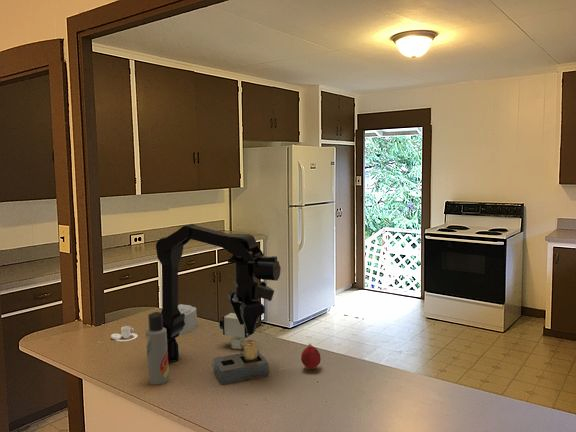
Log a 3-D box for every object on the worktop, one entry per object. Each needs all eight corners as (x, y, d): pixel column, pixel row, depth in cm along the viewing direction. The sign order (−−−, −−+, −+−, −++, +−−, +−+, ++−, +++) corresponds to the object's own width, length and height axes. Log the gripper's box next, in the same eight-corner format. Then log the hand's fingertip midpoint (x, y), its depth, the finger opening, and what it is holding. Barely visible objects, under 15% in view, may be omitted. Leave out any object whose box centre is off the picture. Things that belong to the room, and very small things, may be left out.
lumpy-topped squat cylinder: (200, 325, 188) (199, 303, 187) (180, 337, 176) (179, 314, 175) (178, 322, 192) (176, 301, 191) (157, 334, 180) (155, 311, 179)
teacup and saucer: (108, 341, 175) (107, 330, 174) (120, 333, 182) (119, 323, 182) (130, 343, 173) (129, 332, 172) (141, 335, 180) (141, 324, 180)
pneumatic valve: (250, 352, 161) (249, 316, 159) (220, 347, 166) (218, 313, 164) (258, 346, 166) (257, 311, 164) (228, 341, 171) (227, 308, 169)
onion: (323, 367, 148) (323, 341, 147) (316, 375, 143) (316, 348, 142) (305, 364, 151) (305, 339, 150) (298, 371, 146) (297, 345, 145)
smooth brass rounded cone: (246, 375, 144) (245, 345, 143) (242, 370, 148) (241, 341, 147) (259, 373, 145) (258, 343, 144) (255, 367, 149) (254, 339, 148)
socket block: (221, 384, 138) (220, 371, 138) (213, 370, 148) (213, 358, 147) (268, 375, 143) (268, 362, 143) (258, 362, 153) (257, 350, 152)
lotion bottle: (172, 377, 144) (169, 311, 141) (161, 386, 138) (157, 317, 136) (156, 375, 146) (152, 309, 143) (144, 383, 140) (140, 315, 138)
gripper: (281, 282, 138) (282, 336, 140) (261, 268, 155) (262, 316, 157) (243, 286, 134) (244, 341, 136) (226, 272, 152) (228, 321, 153)
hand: (246, 329), depth 146 cm, fingers open, 9 cm apart
